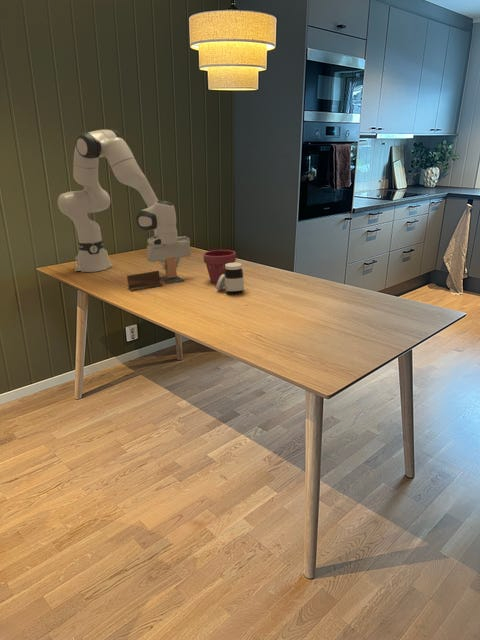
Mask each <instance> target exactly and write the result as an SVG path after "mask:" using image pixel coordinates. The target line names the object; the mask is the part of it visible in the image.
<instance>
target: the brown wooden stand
mask: <svg viewBox="0 0 480 640" xmlns="http://www.w3.org/2000/svg"><path fill="white" fill-rule="evenodd" d="M160 277H161V276H160V271H159V270H155V271H149V272H148V271H147V272H141V273H136V274H135V273H134V274H129V275H128V274H127V275H126V278H127V279H126V280H127V287H128V288H127V289H128V290H129V291H130V292H137V291H143V290H148V289H154V288H159V287H164V284H163V283H161V279H160Z"/></svg>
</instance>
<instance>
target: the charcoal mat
mask: <svg viewBox="0 0 480 640" xmlns="http://www.w3.org/2000/svg"><path fill="white" fill-rule="evenodd" d="M160 281H162V282H163V283H164V282H165V284H167V285H171V284H176V283H180V282H181V283H182V282H185V279H184V278H183V277H180V276H179V275H177V277H171V278H168V277H166V275H163V276H160Z"/></svg>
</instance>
